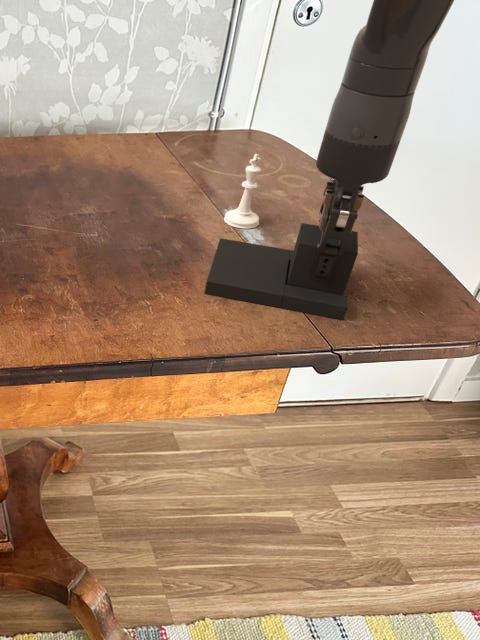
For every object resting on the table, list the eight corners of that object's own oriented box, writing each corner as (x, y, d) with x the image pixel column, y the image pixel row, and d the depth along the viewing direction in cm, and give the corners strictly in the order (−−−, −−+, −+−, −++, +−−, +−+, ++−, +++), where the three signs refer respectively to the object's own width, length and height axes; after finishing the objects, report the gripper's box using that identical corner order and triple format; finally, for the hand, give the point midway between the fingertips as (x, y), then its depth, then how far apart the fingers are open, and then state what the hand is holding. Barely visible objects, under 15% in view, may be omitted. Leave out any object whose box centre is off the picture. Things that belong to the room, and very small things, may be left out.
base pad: (343, 271, 91) (347, 259, 90) (343, 320, 82) (347, 307, 81) (217, 249, 96) (220, 237, 95) (204, 293, 87) (206, 281, 86)
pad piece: (342, 274, 88) (357, 231, 84) (342, 297, 84) (358, 252, 80) (289, 265, 90) (301, 222, 86) (286, 286, 86) (299, 243, 82)
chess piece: (266, 223, 102) (283, 156, 96) (242, 231, 100) (258, 164, 94) (240, 210, 105) (255, 145, 99) (216, 218, 103) (230, 152, 97)
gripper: (406, 158, 69) (353, 303, 79) (398, 113, 80) (352, 246, 90) (324, 148, 71) (283, 290, 81) (328, 105, 82) (291, 236, 92)
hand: (320, 266), depth 86 cm, fingers closed on pad piece, 5 cm apart
